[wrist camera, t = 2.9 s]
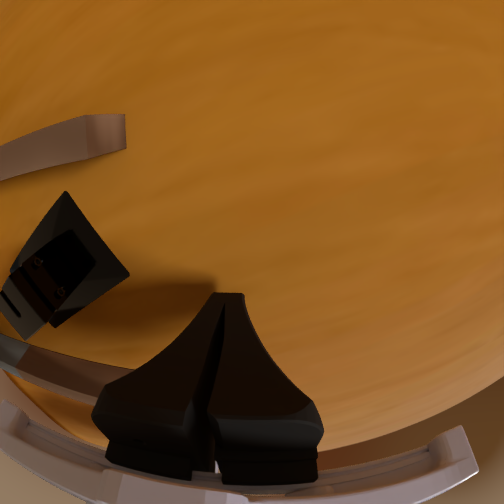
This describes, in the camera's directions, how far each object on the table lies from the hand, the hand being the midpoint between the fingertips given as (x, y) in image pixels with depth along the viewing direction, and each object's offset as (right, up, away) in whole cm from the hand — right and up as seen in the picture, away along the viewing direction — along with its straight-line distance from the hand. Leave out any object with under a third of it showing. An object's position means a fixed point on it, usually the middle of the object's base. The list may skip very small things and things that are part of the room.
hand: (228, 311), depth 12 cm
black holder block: (-11, +2, +2) cm, 11 cm away
